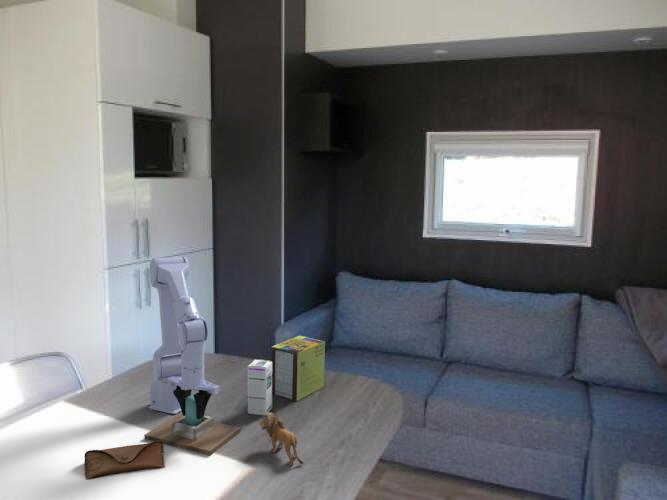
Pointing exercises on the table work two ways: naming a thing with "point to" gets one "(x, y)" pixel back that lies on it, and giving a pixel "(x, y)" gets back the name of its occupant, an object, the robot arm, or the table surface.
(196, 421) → the peg
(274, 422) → the lion figurine
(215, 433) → the socket board
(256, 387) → the syrup box
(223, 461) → the table surface
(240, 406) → the table surface
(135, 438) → the table surface
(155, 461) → the sunglasses case
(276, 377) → the protein box
